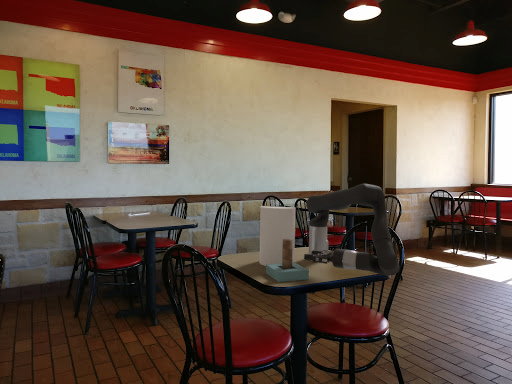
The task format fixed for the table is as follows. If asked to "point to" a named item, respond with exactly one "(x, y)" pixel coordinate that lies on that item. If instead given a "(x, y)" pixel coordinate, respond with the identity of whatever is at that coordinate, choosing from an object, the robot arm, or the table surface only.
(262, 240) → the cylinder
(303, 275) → the collar
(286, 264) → the walnut peg
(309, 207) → the robot arm
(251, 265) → the table surface
